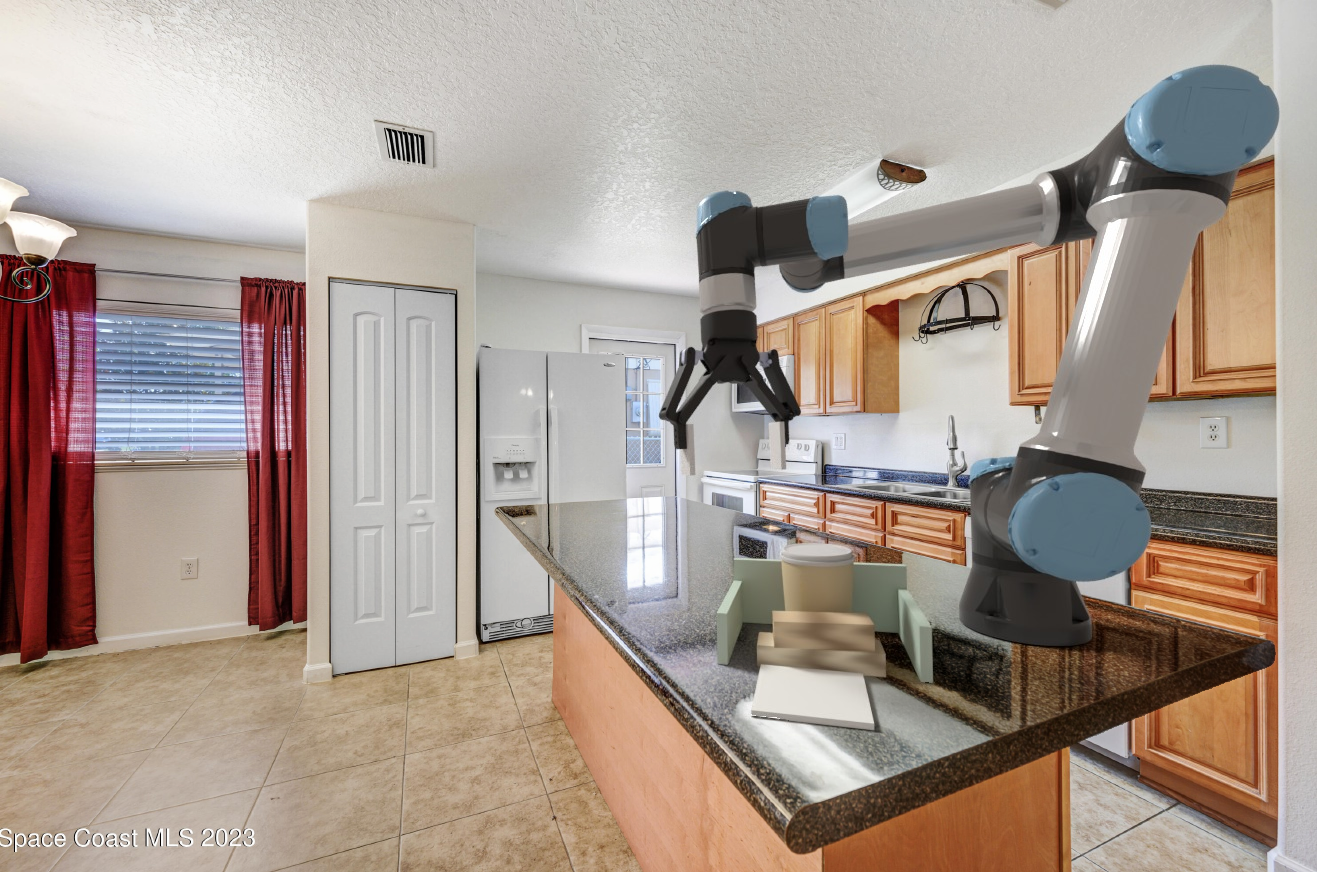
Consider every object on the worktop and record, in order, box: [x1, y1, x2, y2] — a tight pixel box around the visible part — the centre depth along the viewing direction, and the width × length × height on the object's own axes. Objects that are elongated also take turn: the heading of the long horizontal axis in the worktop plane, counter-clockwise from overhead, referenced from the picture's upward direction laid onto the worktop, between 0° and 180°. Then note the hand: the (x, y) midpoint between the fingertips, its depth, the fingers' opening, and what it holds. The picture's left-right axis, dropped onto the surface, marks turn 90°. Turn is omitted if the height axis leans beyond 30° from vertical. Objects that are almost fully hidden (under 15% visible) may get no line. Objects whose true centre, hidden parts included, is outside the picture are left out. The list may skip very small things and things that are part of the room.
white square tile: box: [750, 664, 875, 731], centre depth 56 cm, size 11×11×1 cm
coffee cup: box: [779, 542, 856, 613], centre depth 72 cm, size 9×9×12 cm
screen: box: [716, 557, 934, 684], centre depth 70 cm, size 23×17×9 cm
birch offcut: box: [756, 631, 887, 678], centre depth 64 cm, size 14×4×3 cm, turn 76°
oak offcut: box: [772, 611, 876, 652], centre depth 64 cm, size 11×4×3 cm, turn 81°
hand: (734, 472), depth 74 cm, fingers open, 13 cm apart
